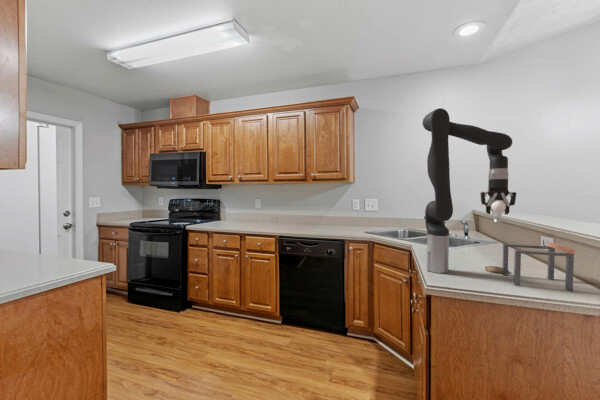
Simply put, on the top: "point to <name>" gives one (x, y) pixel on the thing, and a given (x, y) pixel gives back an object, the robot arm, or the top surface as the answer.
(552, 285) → the top surface
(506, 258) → the frame
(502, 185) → the robot arm
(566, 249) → the bar
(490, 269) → the pad
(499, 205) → the lightbulb
